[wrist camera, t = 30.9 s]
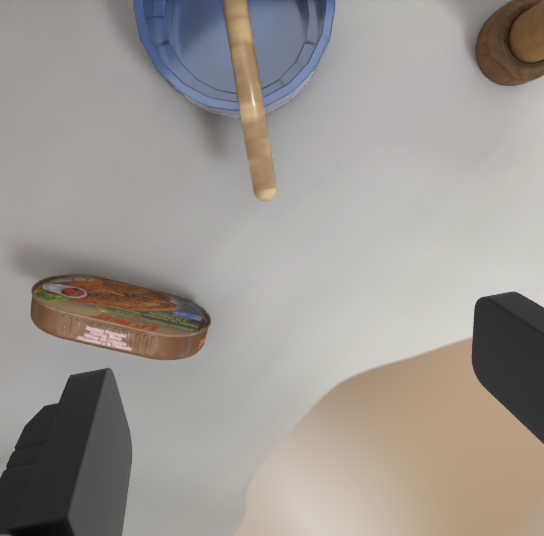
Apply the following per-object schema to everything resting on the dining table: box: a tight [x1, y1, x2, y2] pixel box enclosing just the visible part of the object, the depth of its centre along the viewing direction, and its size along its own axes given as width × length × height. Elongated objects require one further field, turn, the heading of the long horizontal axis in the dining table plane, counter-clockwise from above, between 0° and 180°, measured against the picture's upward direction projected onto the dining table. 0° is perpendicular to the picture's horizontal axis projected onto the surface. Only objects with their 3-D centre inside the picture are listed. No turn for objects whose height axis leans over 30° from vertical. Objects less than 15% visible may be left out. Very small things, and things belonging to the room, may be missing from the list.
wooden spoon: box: [221, 0, 277, 201], centre depth 33 cm, size 4×25×2 cm, turn 9°
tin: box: [31, 275, 211, 360], centre depth 40 cm, size 15×3×8 cm, turn 75°
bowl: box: [133, 0, 335, 118], centre depth 36 cm, size 14×14×6 cm
